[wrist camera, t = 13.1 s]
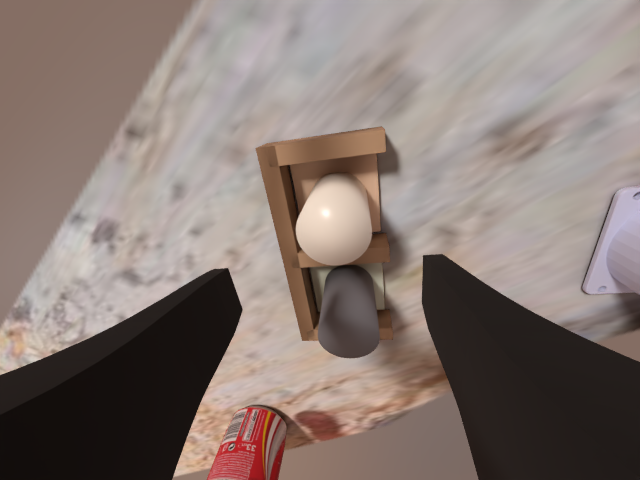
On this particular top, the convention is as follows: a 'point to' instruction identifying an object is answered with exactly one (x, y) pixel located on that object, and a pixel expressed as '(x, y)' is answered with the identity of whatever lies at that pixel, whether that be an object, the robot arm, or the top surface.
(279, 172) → the open-sided tray
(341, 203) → the cream plug
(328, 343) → the charcoal plug
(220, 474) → the soda can
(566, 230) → the top surface
